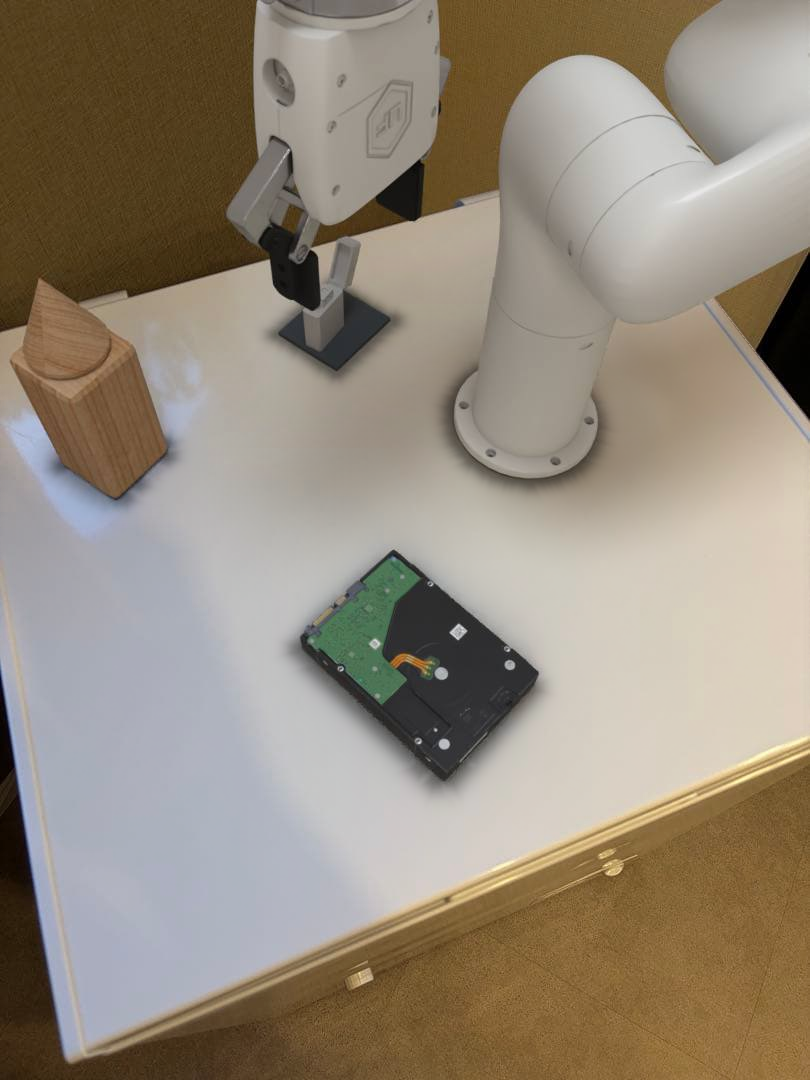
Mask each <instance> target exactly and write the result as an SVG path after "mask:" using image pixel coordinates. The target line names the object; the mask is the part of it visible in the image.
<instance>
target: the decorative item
mask: <svg viewBox="0 0 810 1080" xmlns="http://www.w3.org/2000/svg"><path fill="white" fill-rule="evenodd" d="M9 365H10V366H11V368H12V370H13V372H14V374H15V376H16V377H17V380H18V381H19V383H20V385H21V387H22V389H23V391H24V392H25V395H26V397H27V399H28V401H29V402H30V404H31V406H32V409H33V410H34V412H35V414H36V416H37V418H38V420H39V422H40V423H41V425H42V426H41V427H42V428H43V429H44V431H45V434H46V436H47V437H48V439H49V442H50V443H51V445H52V447H53V449H54V451H55V453H56V455H57V457H58V458H59V461H60V462H61V464H62V465H64V466H65V467H67V468H68V469H69V470H71V471H72V472H74V473H75V474H77V475H78V476H80V477H81V478H83V479H84V480H85V481H87V482H89V483H90V484H91V485H93V486H94V487H95V488H97V489H98V490H100V491H102V492H103V493H105V494H106V495H107V496H109V497H111V498H118V497H120V496H122V495H123V494H124V493H125V492H126V491H127V490H128V489H129V488H130V487H131V486H132V485H133V484H134V483H135V482H136V481H138V480H139V479H140V478H141V477H142V476H143V475H144V474H145V473H146V472H147V471H148V470H149V469H150V468H151V467H152V466H154V464H155V463H156V462H158V461H159V460H160V458H162V457H163V456H164V455H165V454H166V452H167V450H168V444H167V441H166V438H165V435H164V431H163V429H162V426H161V422H160V419H159V417H158V413H157V411H156V407H155V405H154V401H153V398H152V396H151V393H150V389H149V387H148V383H147V381H146V380H147V379H146V377H145V374H144V371H143V369H142V366H141V362H140V359H139V356H138V353H137V350H136V348H135V346H134V345H133V344H132V343H131V342H130V341H128V340H126V339H125V338H123V337H121V336H120V335H118V334H117V333H115V332H114V331H112V330H110V329H109V328H108V327H107V325H106V323H104V322H103V321H102V320H101V319H100V318H99V317H98V316H96V315H95V314H93V313H92V312H90V311H89V310H87V309H86V308H84V307H83V306H81V305H80V304H79V303H77V302H76V301H74V300H73V299H71V298H70V297H68V296H67V295H66V294H64V293H62V292H61V291H59V290H57V289H56V288H55V287H53V286H52V285H50V283H48V282H45V280H43V279H42V278H40V277H39V278H38V281H37V284H36V288H35V293H34V296H33V301H32V305H31V308H30V312H29V317H28V321H27V324H26V329H25V333H24V337H23V341H22V345H21V346H20V347H19V348H18V349H17V350H15V351H14V352H13V353H12V354H11V356H10V357H9Z"/></svg>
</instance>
